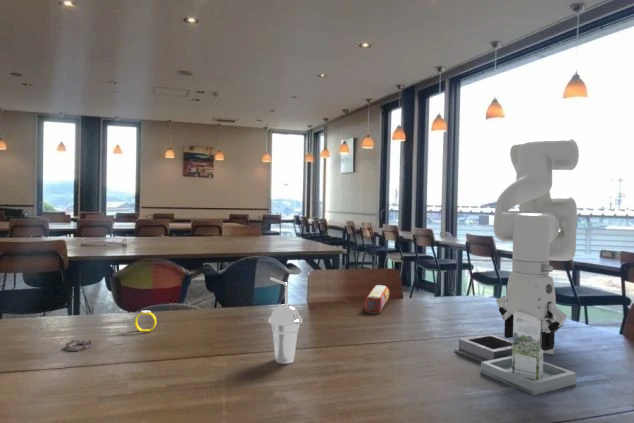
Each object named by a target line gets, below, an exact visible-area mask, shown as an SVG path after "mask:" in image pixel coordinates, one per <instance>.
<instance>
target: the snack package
mask: <svg viewBox="0 0 634 423" xmlns="http://www.w3.org/2000/svg"><path fill="white" fill-rule="evenodd" d="M389 298H390V289H389V287H388V286H386V285H382V284H376V285H375V286H374V287H373V288H372V289H371V291H370V293H369V294H368V296H366V297H365V299H364V310H365V312H366V313H367V312H369V313H368V314H380V313H381V312H382V310H383V308H384V306H385V305H386V303H387V302H388V301H389Z"/></svg>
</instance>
